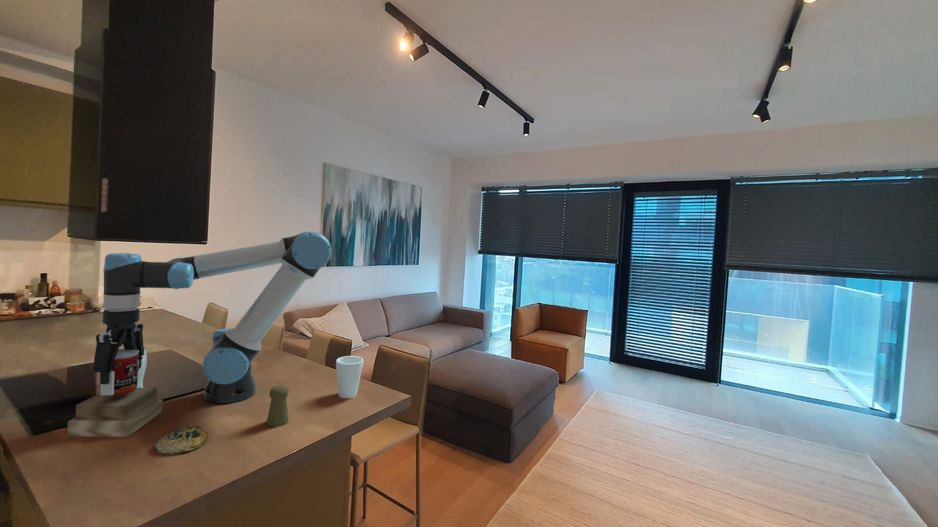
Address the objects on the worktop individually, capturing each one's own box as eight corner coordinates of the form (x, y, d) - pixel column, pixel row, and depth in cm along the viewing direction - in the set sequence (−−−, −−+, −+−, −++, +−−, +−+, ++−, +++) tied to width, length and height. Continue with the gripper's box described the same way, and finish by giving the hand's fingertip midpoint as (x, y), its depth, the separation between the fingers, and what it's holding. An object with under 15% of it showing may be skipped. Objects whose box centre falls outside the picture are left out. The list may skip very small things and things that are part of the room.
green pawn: (293, 420, 116) (295, 385, 115) (277, 428, 110) (279, 392, 110) (278, 415, 118) (279, 381, 117) (261, 423, 112) (263, 388, 112)
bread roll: (201, 428, 107) (201, 412, 106) (213, 449, 100) (214, 433, 99) (151, 444, 99) (151, 427, 98) (160, 468, 92) (161, 450, 91)
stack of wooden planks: (162, 412, 114) (163, 386, 114) (127, 436, 100) (127, 407, 100) (110, 411, 112) (111, 385, 112) (67, 436, 98) (68, 406, 98)
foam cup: (364, 391, 142) (367, 357, 141) (354, 401, 132) (357, 365, 132) (340, 388, 142) (343, 354, 142) (329, 398, 133) (331, 362, 133)
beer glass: (117, 399, 120) (118, 353, 119) (118, 392, 125) (119, 347, 124) (145, 395, 124) (147, 350, 123) (145, 387, 129) (147, 345, 129)
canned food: (115, 398, 101) (116, 358, 100) (92, 393, 103) (93, 354, 102) (144, 388, 109) (146, 350, 108) (123, 383, 110) (124, 347, 110)
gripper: (134, 301, 114) (132, 374, 115) (72, 315, 94) (70, 404, 95) (161, 303, 115) (158, 375, 116) (106, 317, 95) (104, 404, 96)
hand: (119, 388), depth 106 cm, fingers closed on canned food, 8 cm apart
